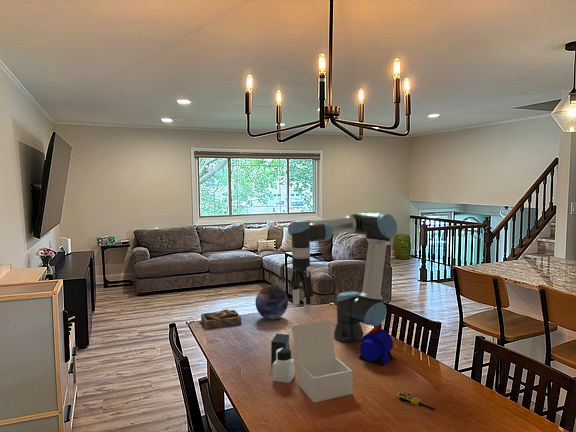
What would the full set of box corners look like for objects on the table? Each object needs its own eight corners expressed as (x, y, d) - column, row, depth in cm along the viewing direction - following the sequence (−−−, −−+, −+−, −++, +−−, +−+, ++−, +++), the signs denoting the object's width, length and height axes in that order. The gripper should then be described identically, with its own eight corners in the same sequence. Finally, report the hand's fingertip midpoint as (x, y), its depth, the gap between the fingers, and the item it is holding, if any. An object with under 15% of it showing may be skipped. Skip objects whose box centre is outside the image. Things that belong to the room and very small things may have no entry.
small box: (285, 366, 183) (285, 342, 182) (270, 364, 184) (270, 341, 183) (290, 356, 193) (289, 333, 192) (276, 355, 194) (275, 333, 194)
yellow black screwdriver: (400, 389, 158) (438, 403, 147) (400, 394, 158) (438, 409, 147) (393, 393, 154) (432, 408, 144) (393, 399, 154) (432, 414, 144)
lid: (335, 356, 170) (334, 356, 171) (329, 320, 173) (328, 320, 174) (297, 363, 164) (296, 363, 164) (292, 326, 167) (291, 326, 168)
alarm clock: (394, 359, 188) (394, 326, 187) (380, 368, 179) (380, 333, 178) (370, 352, 197) (370, 320, 195) (355, 360, 188) (355, 327, 187)
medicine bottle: (294, 375, 173) (294, 347, 172) (289, 383, 166) (288, 354, 166) (278, 373, 175) (278, 345, 175) (272, 381, 169) (272, 351, 168)
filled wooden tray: (234, 316, 253) (234, 309, 253) (241, 323, 239) (241, 316, 239) (201, 320, 246) (201, 313, 245) (206, 328, 232) (205, 321, 231)
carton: (334, 378, 170) (334, 356, 170) (352, 394, 157) (352, 370, 157) (298, 385, 165) (298, 363, 164) (313, 402, 152) (313, 378, 151)
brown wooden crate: (238, 320, 244) (238, 312, 244) (215, 327, 233) (215, 318, 232) (226, 316, 252) (225, 308, 252) (203, 323, 240) (203, 314, 240)
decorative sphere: (252, 323, 239) (251, 288, 238) (260, 313, 259) (259, 280, 257) (285, 325, 236) (284, 289, 234) (290, 314, 256) (290, 281, 254)
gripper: (282, 253, 187) (283, 301, 188) (304, 262, 165) (304, 317, 166) (298, 252, 189) (298, 299, 191) (321, 261, 167) (321, 314, 169)
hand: (301, 308), depth 179 cm, fingers open, 11 cm apart
